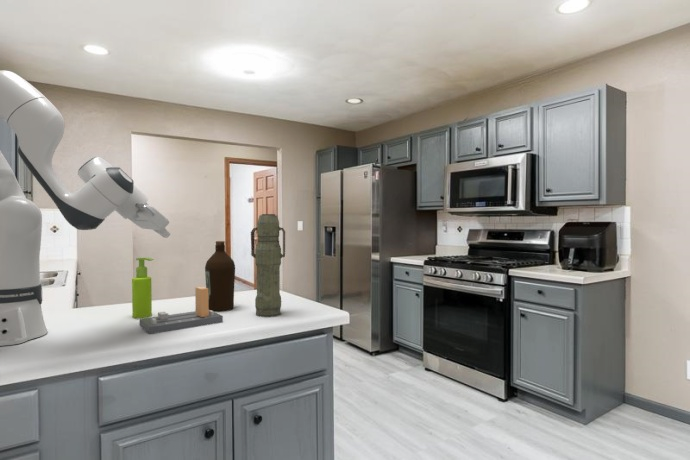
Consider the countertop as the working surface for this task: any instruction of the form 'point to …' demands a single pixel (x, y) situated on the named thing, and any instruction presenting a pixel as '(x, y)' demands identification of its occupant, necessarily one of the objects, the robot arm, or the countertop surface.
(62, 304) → the countertop surface
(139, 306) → the soap dispenser
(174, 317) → the console
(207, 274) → the olive oil
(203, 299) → the fader lever
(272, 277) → the thermos
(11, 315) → the robot arm
